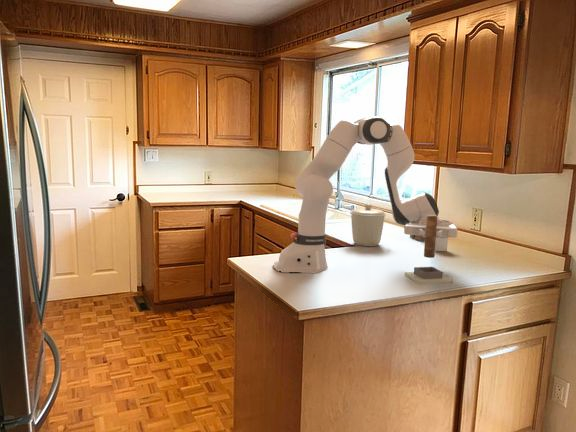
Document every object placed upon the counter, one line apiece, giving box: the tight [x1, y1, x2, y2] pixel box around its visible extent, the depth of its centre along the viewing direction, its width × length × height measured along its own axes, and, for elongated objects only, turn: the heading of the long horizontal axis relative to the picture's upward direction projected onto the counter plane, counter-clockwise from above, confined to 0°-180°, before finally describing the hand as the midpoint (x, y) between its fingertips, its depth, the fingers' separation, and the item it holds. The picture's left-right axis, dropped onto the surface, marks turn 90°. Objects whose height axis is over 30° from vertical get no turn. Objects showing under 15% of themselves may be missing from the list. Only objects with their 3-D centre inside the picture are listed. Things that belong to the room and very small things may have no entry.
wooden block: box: [409, 218, 425, 242], centre depth 263 cm, size 4×11×18 cm, turn 16°
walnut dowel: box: [423, 215, 438, 259], centre depth 187 cm, size 4×4×16 cm
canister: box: [349, 203, 387, 247], centre depth 247 cm, size 18×18×21 cm
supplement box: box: [435, 237, 449, 252], centre depth 239 cm, size 7×7×13 cm
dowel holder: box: [404, 266, 453, 285], centre depth 190 cm, size 14×12×4 cm
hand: (430, 234), depth 186 cm, fingers closed on walnut dowel, 4 cm apart
